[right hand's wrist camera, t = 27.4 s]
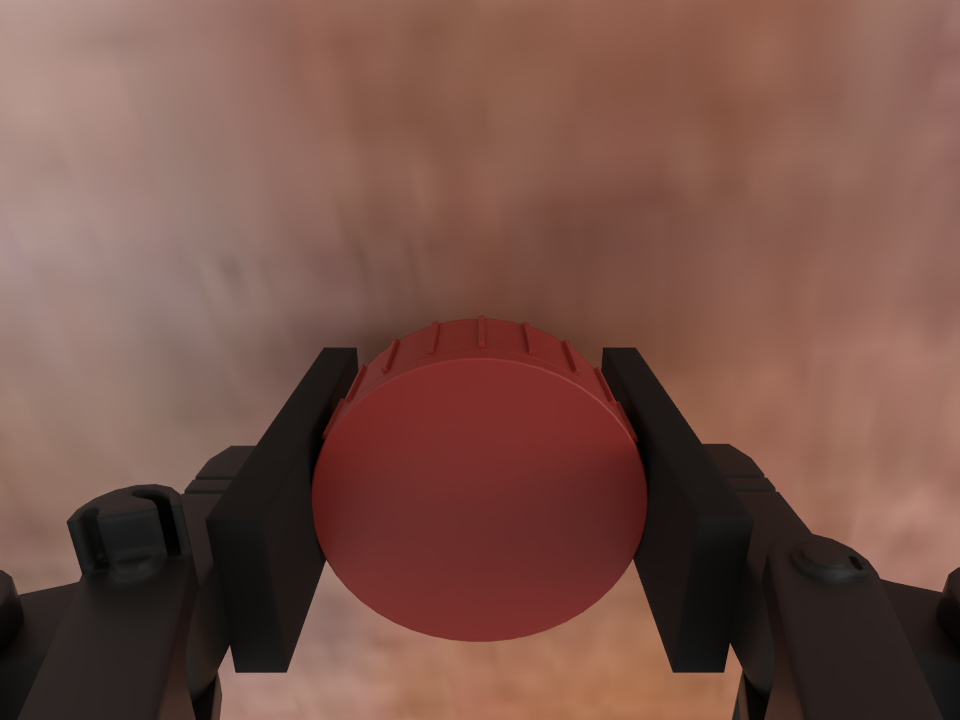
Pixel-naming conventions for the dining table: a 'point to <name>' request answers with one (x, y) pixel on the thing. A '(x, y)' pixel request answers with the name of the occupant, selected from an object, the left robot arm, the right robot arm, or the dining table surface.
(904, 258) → the dining table surface
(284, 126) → the dining table surface
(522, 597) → the lid
